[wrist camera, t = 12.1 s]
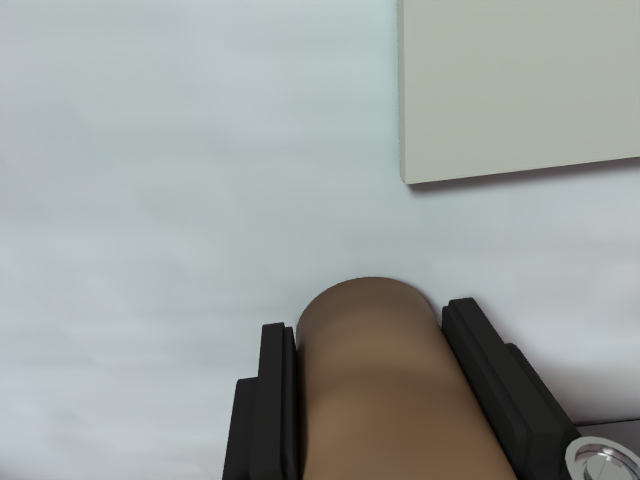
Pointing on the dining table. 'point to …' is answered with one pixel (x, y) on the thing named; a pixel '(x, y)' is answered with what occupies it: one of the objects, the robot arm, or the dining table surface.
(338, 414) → the tool handle
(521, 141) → the mat
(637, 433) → the switch board
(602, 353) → the dining table surface
